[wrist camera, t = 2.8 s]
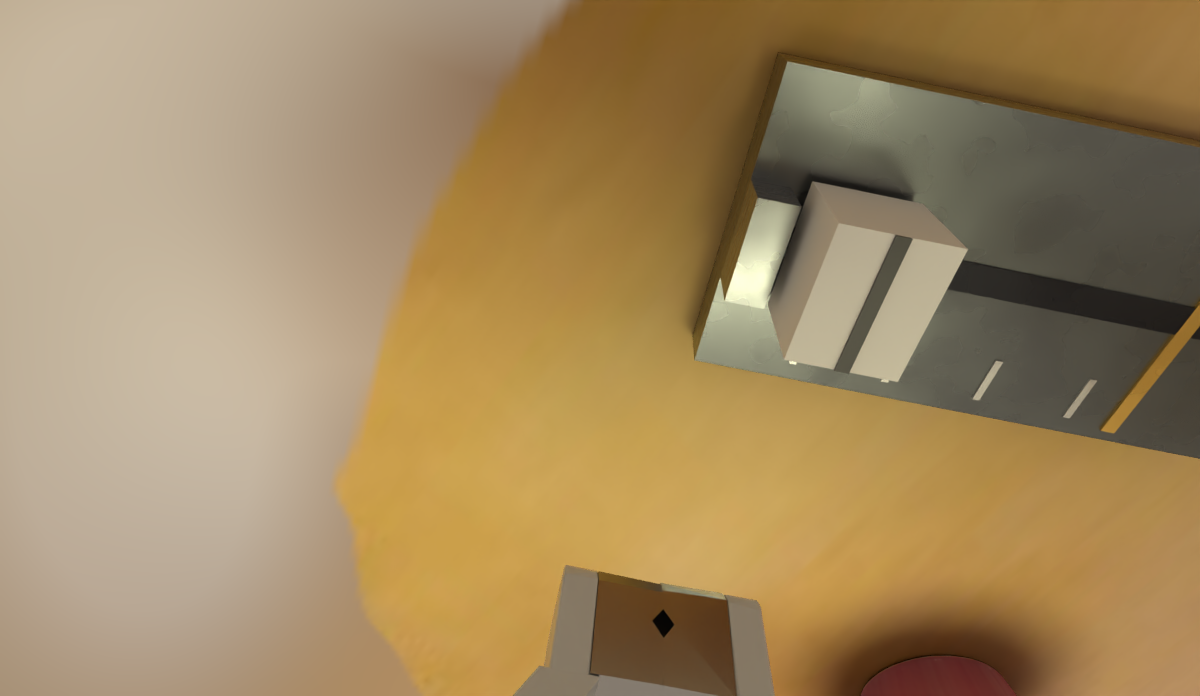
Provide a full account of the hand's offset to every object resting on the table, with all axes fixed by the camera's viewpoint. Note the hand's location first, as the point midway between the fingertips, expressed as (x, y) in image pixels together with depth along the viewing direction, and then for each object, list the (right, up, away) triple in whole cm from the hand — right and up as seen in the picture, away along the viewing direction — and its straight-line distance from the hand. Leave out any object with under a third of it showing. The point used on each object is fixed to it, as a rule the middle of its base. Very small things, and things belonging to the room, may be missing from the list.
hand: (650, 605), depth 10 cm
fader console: (+16, +7, +16) cm, 24 cm away
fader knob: (+8, +7, +14) cm, 18 cm away
